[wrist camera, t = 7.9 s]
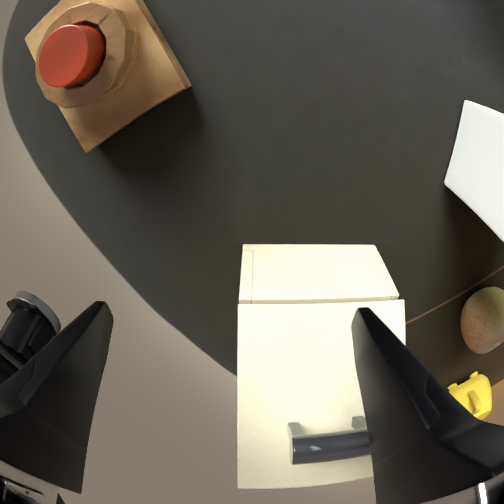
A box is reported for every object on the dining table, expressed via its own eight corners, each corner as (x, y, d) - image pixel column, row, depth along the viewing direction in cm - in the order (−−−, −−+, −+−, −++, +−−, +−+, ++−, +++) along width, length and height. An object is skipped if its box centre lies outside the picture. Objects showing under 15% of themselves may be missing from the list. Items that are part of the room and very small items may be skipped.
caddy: (346, 333, 29) (356, 380, 24) (246, 336, 29) (244, 385, 24) (374, 244, 22) (399, 295, 17) (242, 243, 22) (238, 299, 17)
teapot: (477, 387, 45) (490, 424, 36) (438, 407, 48) (448, 446, 40) (489, 356, 36) (508, 403, 27) (439, 382, 39) (455, 432, 30)
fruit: (474, 272, 24) (509, 327, 17) (506, 278, 24) (536, 326, 18) (440, 320, 28) (464, 375, 22) (474, 321, 29) (497, 368, 22)
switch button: (114, 58, 11) (99, 58, 10) (70, 95, 12) (52, 100, 11) (90, 14, 9) (73, 11, 8) (48, 53, 10) (29, 55, 9)
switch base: (191, 85, 15) (177, 90, 12) (97, 146, 17) (72, 163, 14) (122, -34, 9) (98, -47, 6) (38, 37, 11) (7, 40, 9)
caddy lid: (389, 467, 14) (422, 497, 9) (238, 483, 14) (232, 526, 9) (399, 300, 17) (442, 289, 12) (238, 304, 17) (230, 295, 12)
